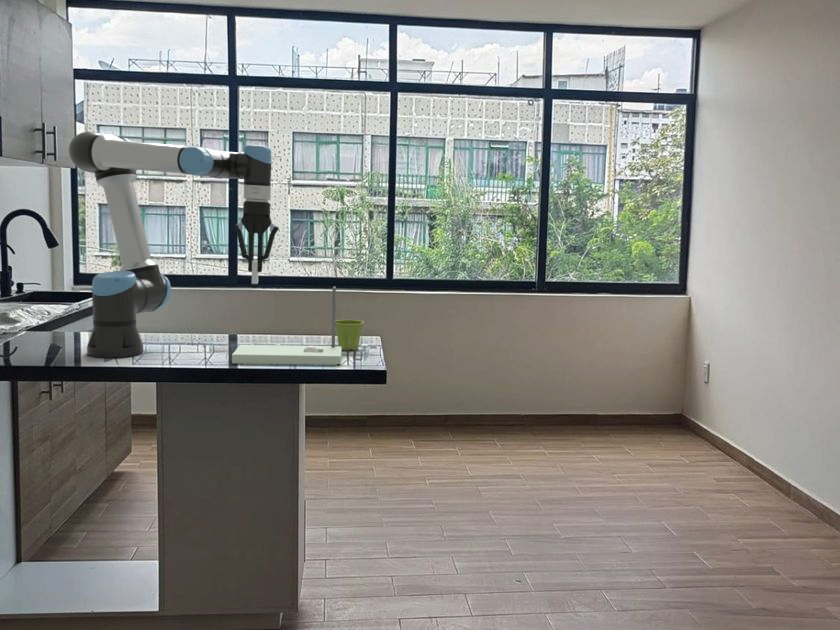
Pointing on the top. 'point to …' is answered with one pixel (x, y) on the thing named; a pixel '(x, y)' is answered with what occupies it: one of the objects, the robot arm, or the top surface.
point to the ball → (311, 349)
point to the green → (291, 351)
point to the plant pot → (348, 333)
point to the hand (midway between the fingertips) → (254, 283)
